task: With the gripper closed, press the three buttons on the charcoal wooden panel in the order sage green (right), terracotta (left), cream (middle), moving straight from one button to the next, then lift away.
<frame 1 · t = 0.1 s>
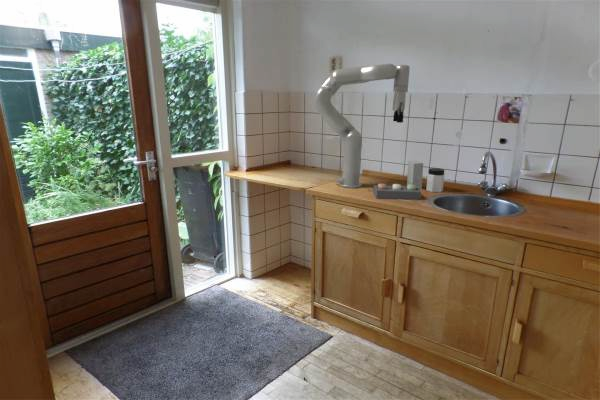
hand: (397, 121, 214), 37 cm above the worktop, tool pointing down, fingers open, 9 cm apart
jar: (434, 191, 218), on the worktop
terracotta button: (382, 187, 203), point 4 cm above the worktop, slide at 0.0 cm
cream button: (396, 188, 203), point 4 cm above the worktop, slide at 0.0 cm
button panel: (396, 196, 204), on the worktop
sage button: (411, 188, 203), point 4 cm above the worktop, slide at 0.0 cm
skincare box: (413, 187, 224), on the worktop
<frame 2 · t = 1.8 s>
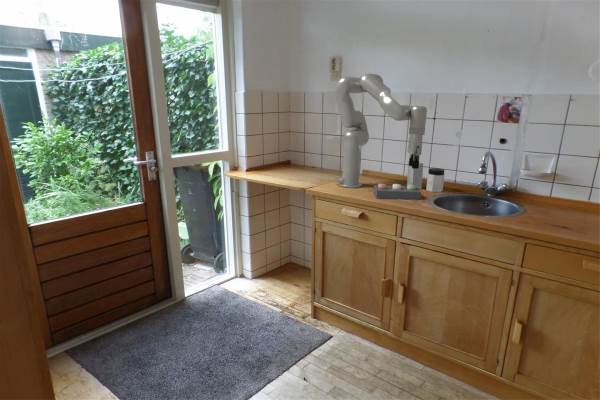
hand: (413, 166, 200), 16 cm above the worktop, tool pointing down, fingers open, 6 cm apart
nothing on the worktop moved.
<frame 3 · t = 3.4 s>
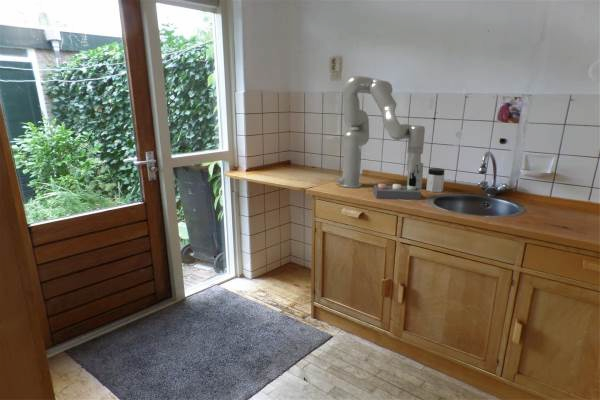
hand: (412, 185, 202), 6 cm above the worktop, tool pointing down, fingers closed
sage button: (411, 189, 203), point 4 cm above the worktop, slide at 0.3 cm, touching gripper
everything else where it was.
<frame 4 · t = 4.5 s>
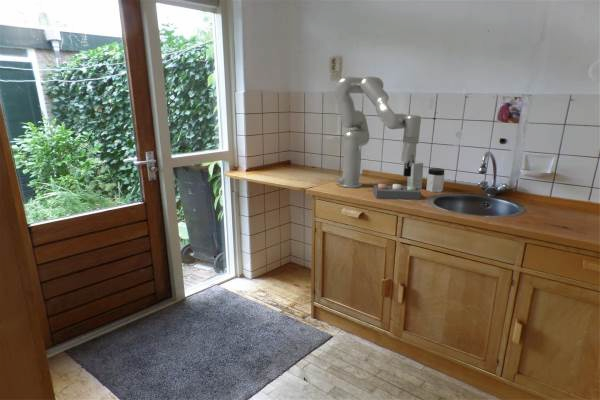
hand: (407, 176, 201), 11 cm above the worktop, tool pointing down, fingers closed
sage button: (411, 190, 203), point 3 cm above the worktop, slide at 0.8 cm
everything else where it was.
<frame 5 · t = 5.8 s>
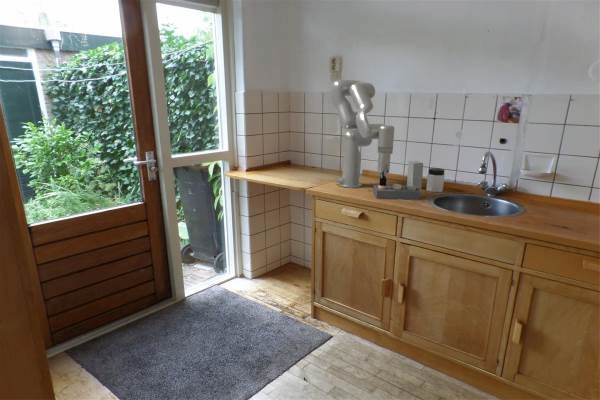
hand: (382, 185, 203), 5 cm above the worktop, tool pointing down, fingers closed
terracotta button: (382, 188, 203), point 4 cm above the worktop, slide at 0.6 cm
everything else where it was.
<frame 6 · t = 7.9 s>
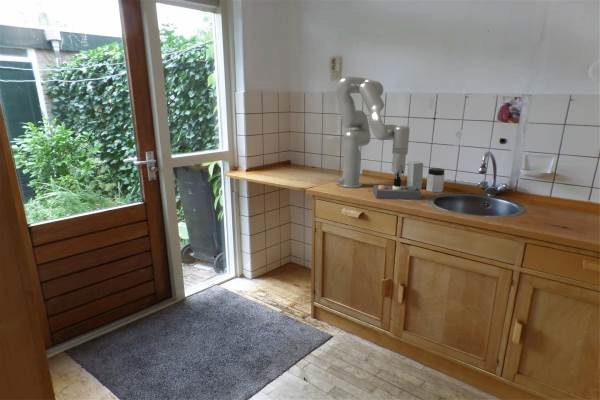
hand: (397, 186, 202), 5 cm above the worktop, tool pointing down, fingers closed
cream button: (396, 189, 203), point 4 cm above the worktop, slide at 0.7 cm, touching gripper
everything else where it was.
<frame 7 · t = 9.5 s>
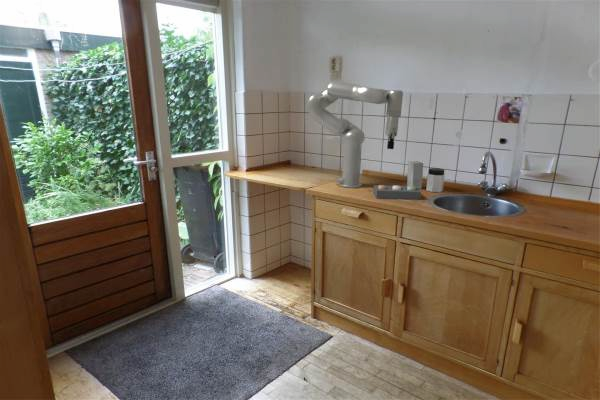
hand: (390, 148, 212), 23 cm above the worktop, tool pointing down, fingers closed
cream button: (396, 189, 203), point 3 cm above the worktop, slide at 0.8 cm
everything else where it was.
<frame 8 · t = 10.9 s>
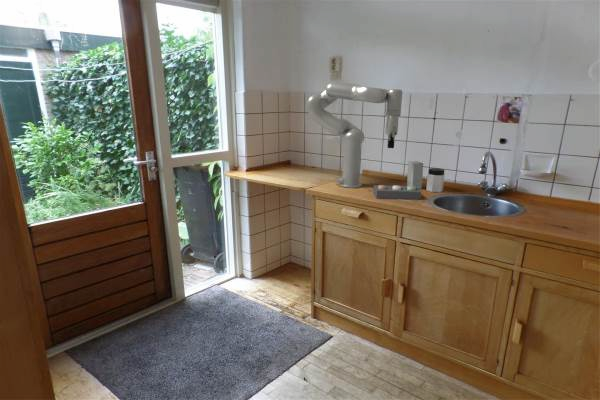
hand: (390, 147, 212), 23 cm above the worktop, tool pointing down, fingers closed
nothing on the worktop moved.
at the end: sage button slide at 0.8 cm; terracotta button slide at 0.8 cm; cream button slide at 0.8 cm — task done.
